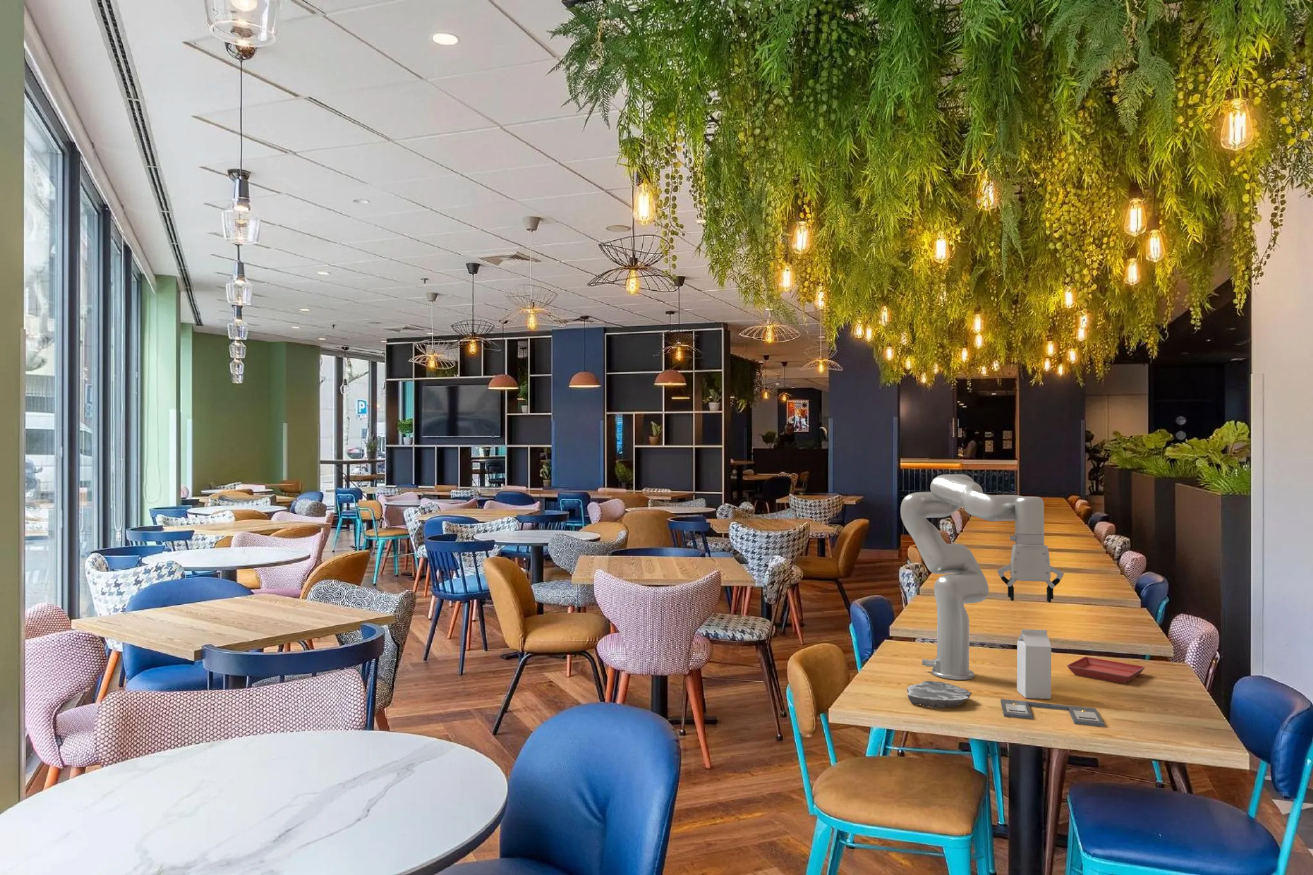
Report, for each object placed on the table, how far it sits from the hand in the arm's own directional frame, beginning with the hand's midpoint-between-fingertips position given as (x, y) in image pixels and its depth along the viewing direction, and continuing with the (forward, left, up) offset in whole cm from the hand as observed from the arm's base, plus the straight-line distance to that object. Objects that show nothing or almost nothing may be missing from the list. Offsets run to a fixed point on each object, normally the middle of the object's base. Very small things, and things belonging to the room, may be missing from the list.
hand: (1030, 600), depth 240 cm
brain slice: (-24, -8, -29) cm, 39 cm away
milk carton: (+2, +7, -29) cm, 29 cm away
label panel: (+4, -11, -28) cm, 31 cm away
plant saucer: (+26, +40, -29) cm, 55 cm away
